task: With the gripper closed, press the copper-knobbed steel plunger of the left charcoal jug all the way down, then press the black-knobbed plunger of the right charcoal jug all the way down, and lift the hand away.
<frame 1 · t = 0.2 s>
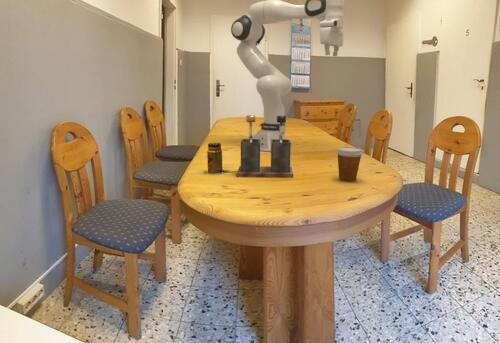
hand: (331, 55, 175), 48 cm above the table, fingers open, 8 cm apart
plunger left: (250, 131, 148), point 17 cm above the table, slide at 0.0 cm
plunger right: (281, 131, 147), point 17 cm above the table, slide at 0.0 cm
condiment: (216, 172, 154), on the table
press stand: (265, 173, 152), on the table
disposable coffee cup: (347, 180, 143), on the table
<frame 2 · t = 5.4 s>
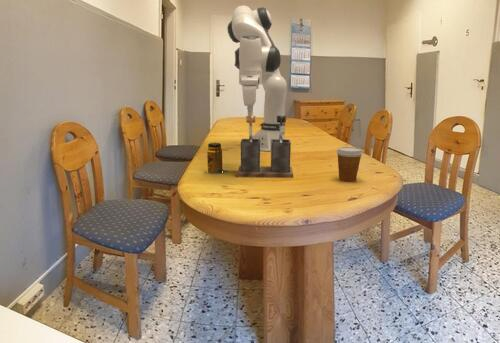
hand: (250, 116, 146), 23 cm above the table, fingers closed, pressing on plunger left
plunger left: (250, 131, 148), point 17 cm above the table, slide at 0.2 cm, touching gripper
everything else where it was.
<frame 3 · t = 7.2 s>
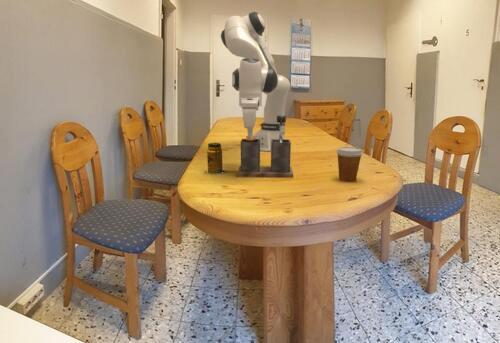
hand: (250, 136, 148), 15 cm above the table, fingers closed, pressing on plunger left
plunger left: (250, 151, 150), point 9 cm above the table, slide at 8.3 cm, touching gripper
everything else where it was.
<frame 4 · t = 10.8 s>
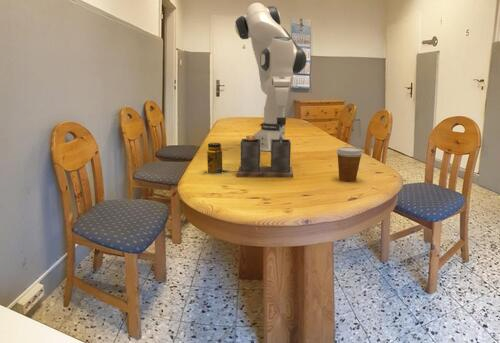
hand: (280, 117, 146), 23 cm above the table, fingers closed, pressing on plunger right
plunger left: (250, 151, 150), point 9 cm above the table, slide at 8.1 cm
plunger right: (280, 133, 147), point 17 cm above the table, slide at 0.6 cm, touching gripper
everything else where it was.
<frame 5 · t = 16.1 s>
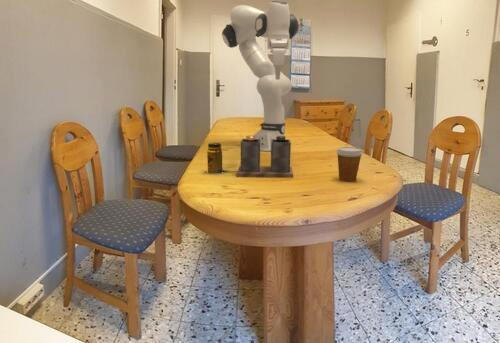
hand: (277, 79, 153), 37 cm above the table, fingers closed
plunger right: (280, 151, 149), point 9 cm above the table, slide at 8.1 cm
everything else where it was.
at the end: plunger left slide at 8.1 cm; plunger right slide at 8.1 cm; condiment moved 0.3 cm from its start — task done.
